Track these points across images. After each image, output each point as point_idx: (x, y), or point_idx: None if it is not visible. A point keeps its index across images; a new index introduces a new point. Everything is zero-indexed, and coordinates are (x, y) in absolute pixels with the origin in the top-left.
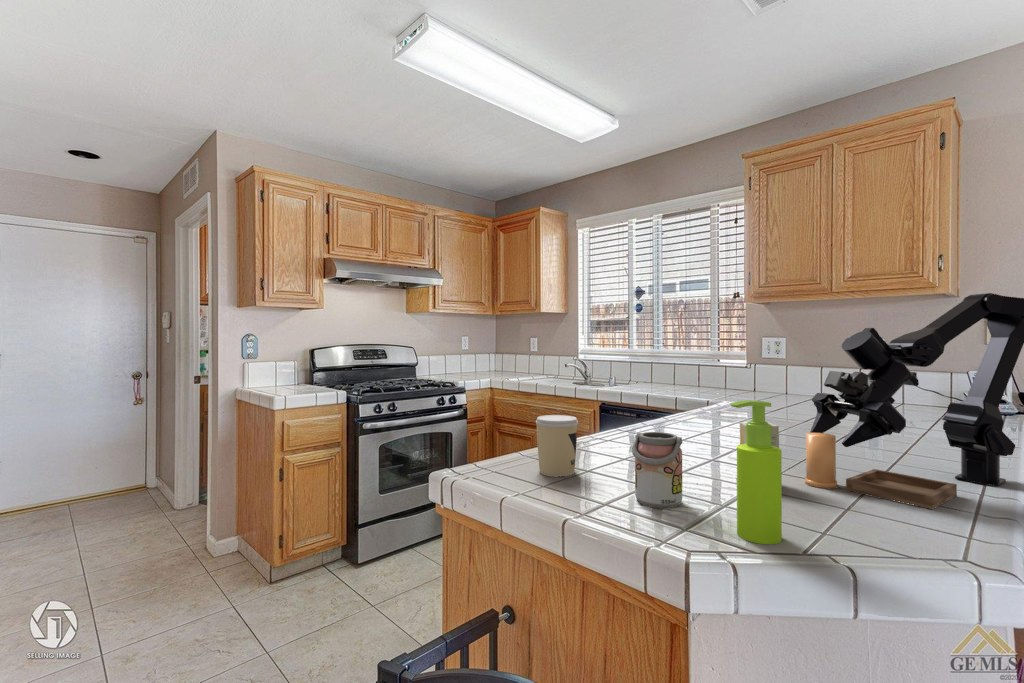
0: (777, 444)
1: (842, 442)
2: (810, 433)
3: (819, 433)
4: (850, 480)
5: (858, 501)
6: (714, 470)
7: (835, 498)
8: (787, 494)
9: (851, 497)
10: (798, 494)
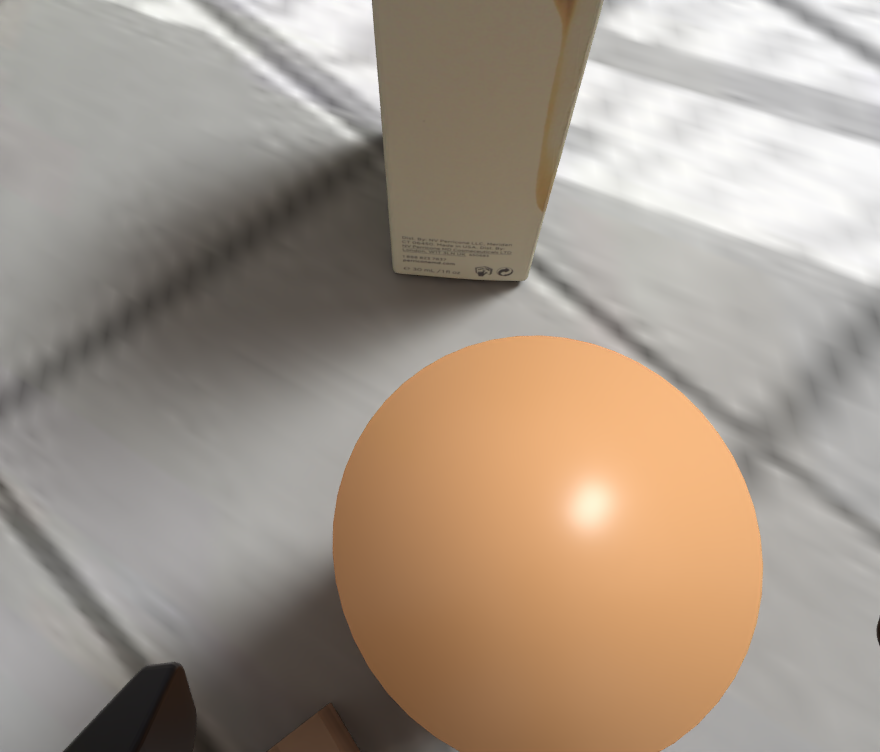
0: (376, 24)
1: (158, 665)
2: (664, 435)
3: (691, 592)
4: (290, 736)
5: (76, 617)
6: (752, 86)
7: (158, 495)
8: (263, 254)
9: (165, 626)
10: (259, 313)
